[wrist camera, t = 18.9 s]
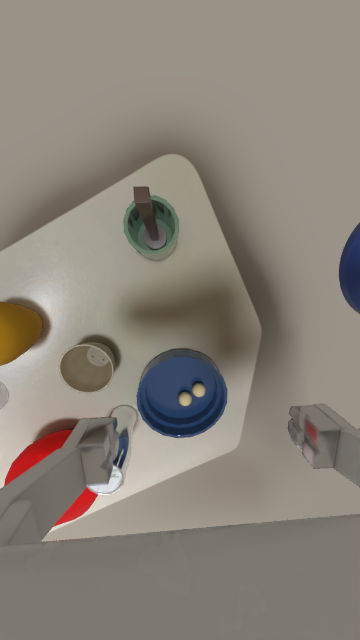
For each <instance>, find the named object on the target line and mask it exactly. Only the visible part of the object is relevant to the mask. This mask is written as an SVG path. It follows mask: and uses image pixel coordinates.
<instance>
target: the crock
mask: <svg viewBox="0 0 360 640" xmlns="http://www.w3.org/2000/svg"><path fill="white" fill-rule="evenodd" d="M151 201H152V205H153V210H154V214H155V219H156V223H157V224H159V225H161V226H162V227H163V228H164V229H165V231H166V234H167V243H166V245H165V247H163V248H161V249H159V250H151V249H150V248H148V247H147V245H146V244H145V242H144V239H143V233H144V230H145V228H146V227H145V225H144V222H143V220H142V218H141V216H140V214H139V211H138V209H137V207H136V205H135V201H133V202H132V203H131V205H130V206H129V207H128V208H127V210H126V214H125V217H124V221H123V222H124V232H125V235H126V237H127V239H128V241H129V243H130V244H131V245H132V246H133V247H134V248H136V249H137V250H138V251H139V252H140V253H141V254H142V255H143V256H144V257H145V258H148V259H150V260H156V261H157V260H163V259H165V258H167V257H168V256H169V255H170V254H171V253H172V252H173V251H174V248H175V245H176V242H177V237H178V233H179V220H178V217H177V215H176V212H175V210H174V208H173V207H172V206H171V205H170V204H169V203H168V202H167V201H166V200H165V199H162V198H160V197H158V196H155V195H154V196H151Z"/></svg>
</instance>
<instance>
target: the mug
mask: <svg viewBox="0 0 360 640" xmlns="http://www.w3.org/2000/svg"><path fill="white" fill-rule="evenodd" d="M8 397H9V395H8V391H7V389H6V387H5V386H4V385H3V384H2V383H1V382H0V409H1V408H2V407H3V406H4V405H5V404H6V403H7V401H8Z"/></svg>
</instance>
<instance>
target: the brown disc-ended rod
mask: <svg viewBox="0 0 360 640" xmlns="http://www.w3.org/2000/svg"><path fill="white" fill-rule="evenodd" d="M134 201H135V205H136V207H137V209H138V211H139V214H140V216H141V218H142V220H143V222H144V225H145V227H146V228H145V230H144V233H143V239H144V242H145V244H146V245H147V247H148V248H150V249H151V250H159V249H161V248H163V247H165V245H166V243H167V234H166V231H165V229H164V228H163V227H162V226H161V225H159V224H157V223H156V219H155V214H154V210H153V205H152V201H151V196H150V192H149V187H134Z"/></svg>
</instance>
